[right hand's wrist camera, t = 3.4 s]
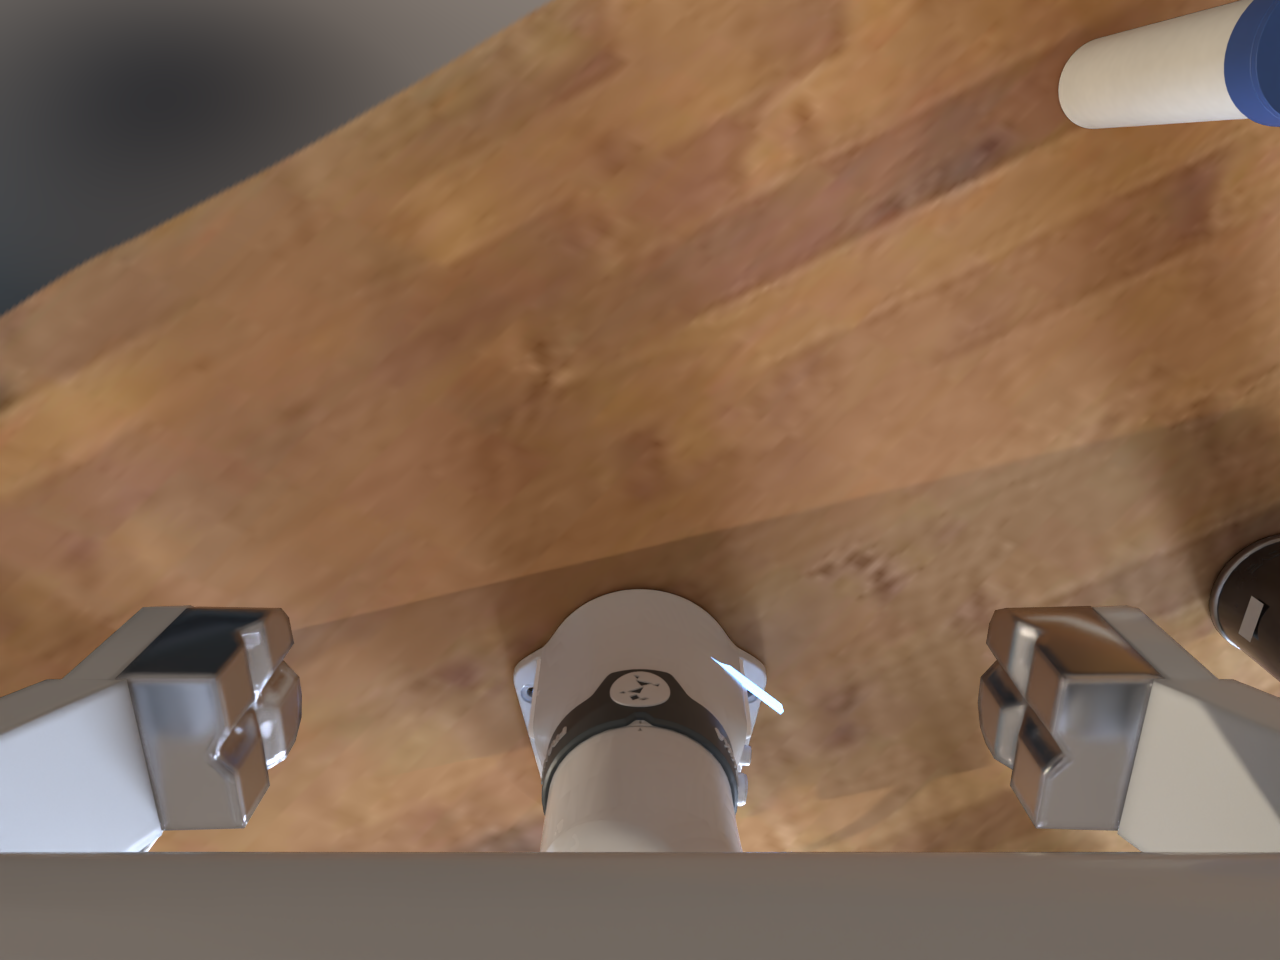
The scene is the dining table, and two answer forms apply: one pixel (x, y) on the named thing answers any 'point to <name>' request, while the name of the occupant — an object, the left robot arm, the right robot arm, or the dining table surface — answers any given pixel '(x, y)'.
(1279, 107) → the lid
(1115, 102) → the white bottle
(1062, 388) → the dining table surface
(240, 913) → the right robot arm
